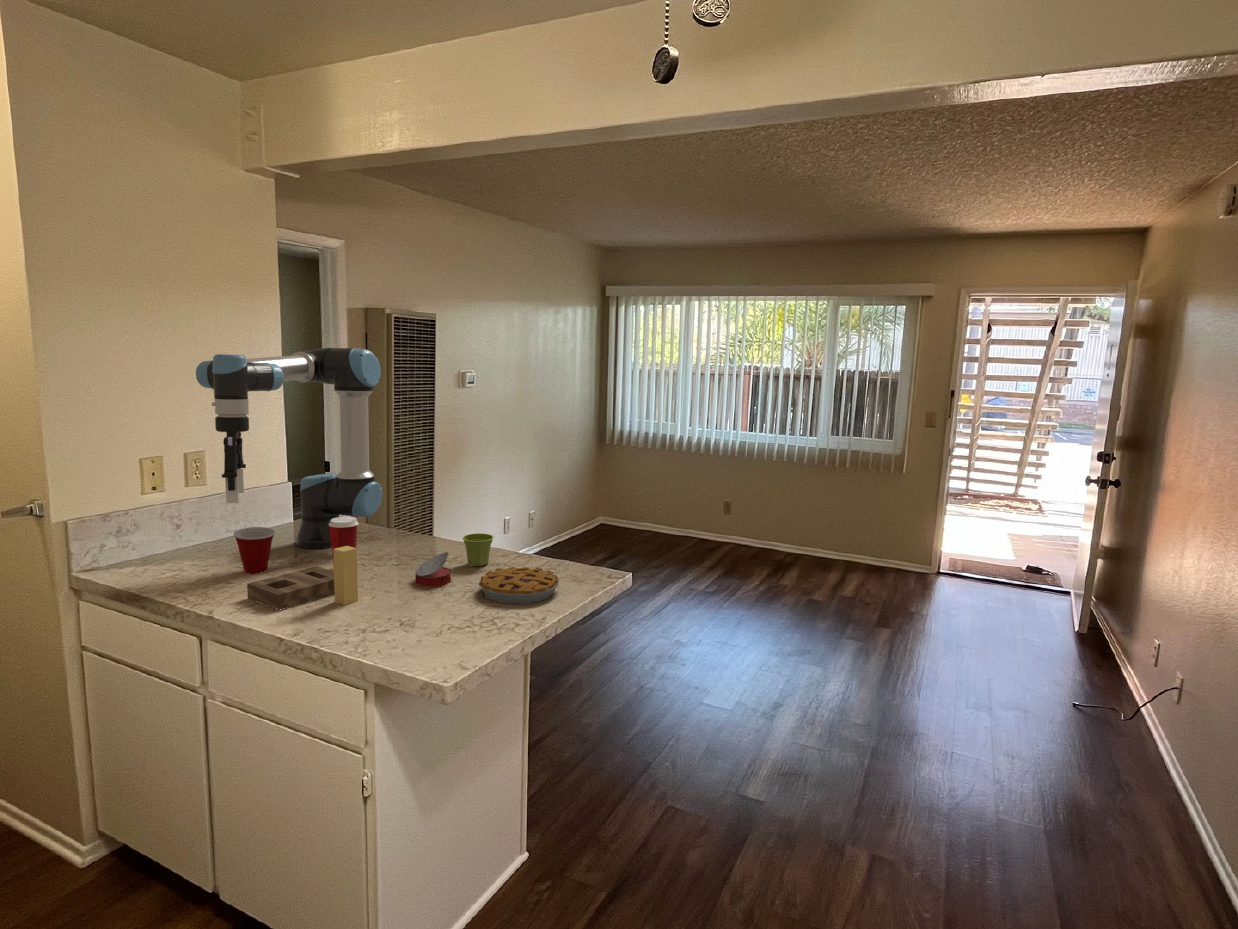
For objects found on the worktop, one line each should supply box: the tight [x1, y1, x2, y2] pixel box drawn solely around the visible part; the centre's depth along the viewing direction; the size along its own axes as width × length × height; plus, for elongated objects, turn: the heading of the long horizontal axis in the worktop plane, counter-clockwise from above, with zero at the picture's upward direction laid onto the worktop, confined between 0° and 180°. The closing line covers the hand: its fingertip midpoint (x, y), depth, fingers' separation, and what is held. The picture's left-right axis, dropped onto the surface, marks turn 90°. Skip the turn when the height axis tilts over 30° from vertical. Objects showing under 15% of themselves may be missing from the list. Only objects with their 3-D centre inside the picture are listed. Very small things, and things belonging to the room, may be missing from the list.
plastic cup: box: [232, 526, 276, 575], centre depth 204 cm, size 11×11×12 cm
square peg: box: [333, 546, 359, 606], centre depth 182 cm, size 4×4×14 cm
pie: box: [478, 566, 560, 604], centre depth 194 cm, size 22×22×5 cm
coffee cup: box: [328, 516, 359, 567], centre depth 209 cm, size 8×8×15 cm
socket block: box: [246, 565, 335, 611], centre depth 187 cm, size 20×14×4 cm
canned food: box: [415, 551, 452, 588], centre depth 200 cm, size 11×10×10 cm
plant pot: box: [462, 532, 495, 567], centre depth 218 cm, size 9×9×9 cm
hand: (235, 498), depth 182 cm, fingers open, 13 cm apart
